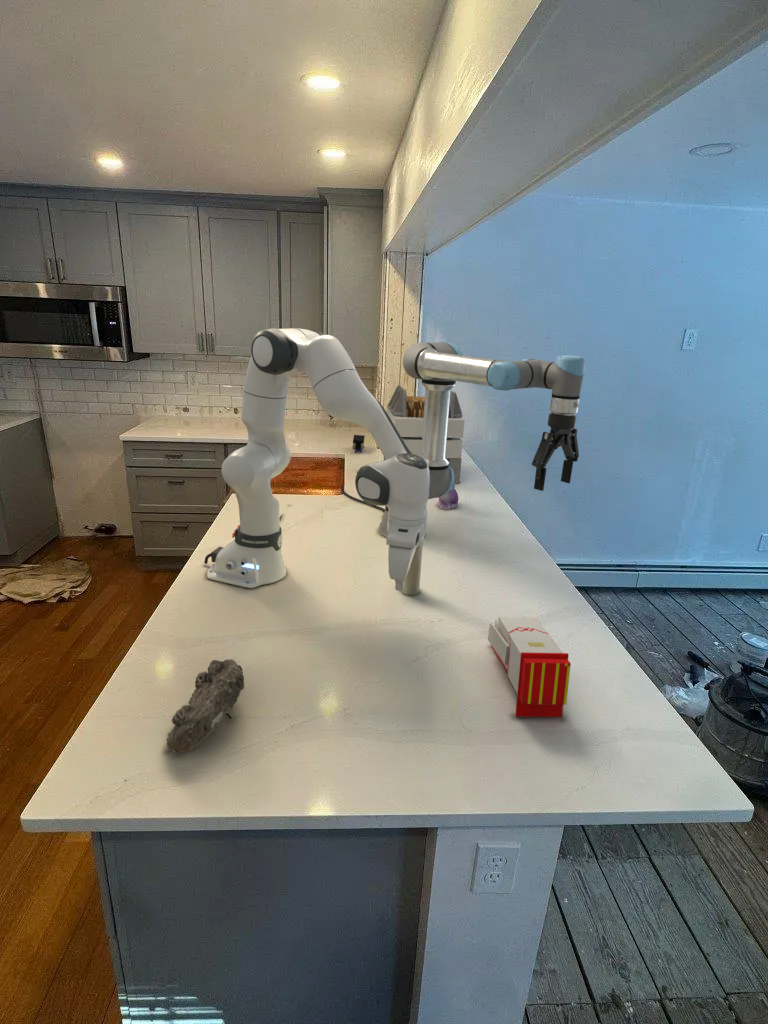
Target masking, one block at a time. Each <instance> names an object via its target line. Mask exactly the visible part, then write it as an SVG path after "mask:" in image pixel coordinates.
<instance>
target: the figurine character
mask: <svg viewBox="0 0 768 1024" xmlns="http://www.w3.org/2000/svg"><path fill="white" fill-rule="evenodd" d="M351 447H352V450H354V453H357V452H359V453H360V454H361V453H362V450H364V449H365V435H361V434H353V439H352V446H351Z"/></svg>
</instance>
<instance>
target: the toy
mask: <svg viewBox="0 0 768 1024" xmlns="http://www.w3.org/2000/svg"><path fill="white" fill-rule="evenodd" d="M488 625H489V627H488V633H487V641H488V642H489V644H490V646H491V647H490V648H491V649H492V650H493V652H494V654H495V656H496V658H497V659H498V660H499V662H500V664H501V666H502V668H503V669H504V671H505V673H506V674H507V676H508V678H509V680H510V682H511V685H512V686H513V689H514V690H515V693H516V704H515V717H516V718H517V717H518V718H519V717H520V718H521V717H522V718H563V710H564V705H567V701H568V692H569V685H570V684H569V683H570V676H571V675H570V674H571V666H572V664H571V661H570V660H569V655H570V654H569V653H568V652H563V651H562V649H561V648H560V647H559V646H558V644H557V643H556V642H555V640H554V639H553V638H552V636H551V635H550V634H549V632H548V631H547V629H546V628H545V627H544V626H543V624H542V622H541V621H540V620H539V619H538V618H537V616H498V618H496V619H494V623H493V622H489V624H488Z"/></svg>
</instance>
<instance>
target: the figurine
mask: <svg viewBox="0 0 768 1024" xmlns="http://www.w3.org/2000/svg"><path fill="white" fill-rule="evenodd" d="M452 473H453V470H452ZM455 486H456V483H454V484H453V487H452V489H451V490H450V491H449V492H448V493H447V494H445V495H443V496H441V497H438V502H437V506H438V507H439V508H440V509H441V510H451V509H455V508H457V507H458V503H459V494H458V491H457V490H456V488H455Z"/></svg>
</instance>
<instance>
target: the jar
mask: <svg viewBox="0 0 768 1024" xmlns="http://www.w3.org/2000/svg"><path fill="white" fill-rule="evenodd" d="M423 546H424V544H423V545H422V546H420V547H417V548H416V551H415V553H414V556H413V559H412V562H411V565H410V570H409V572H408V574H407V577H406V579H405V580H404V588H403V590H402V591H401V593H402V594H404V595H407V596H415V595H418V594H419V593H420V589H421V587H420V586H421V571H422V559H423Z"/></svg>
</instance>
